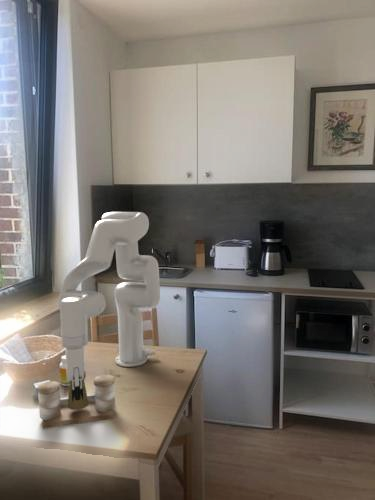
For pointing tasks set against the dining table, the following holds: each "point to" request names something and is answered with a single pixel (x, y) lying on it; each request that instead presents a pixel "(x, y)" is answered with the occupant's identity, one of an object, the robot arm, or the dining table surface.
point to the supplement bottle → (63, 372)
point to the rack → (98, 409)
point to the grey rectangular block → (37, 388)
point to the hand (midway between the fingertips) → (77, 397)
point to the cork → (82, 402)
